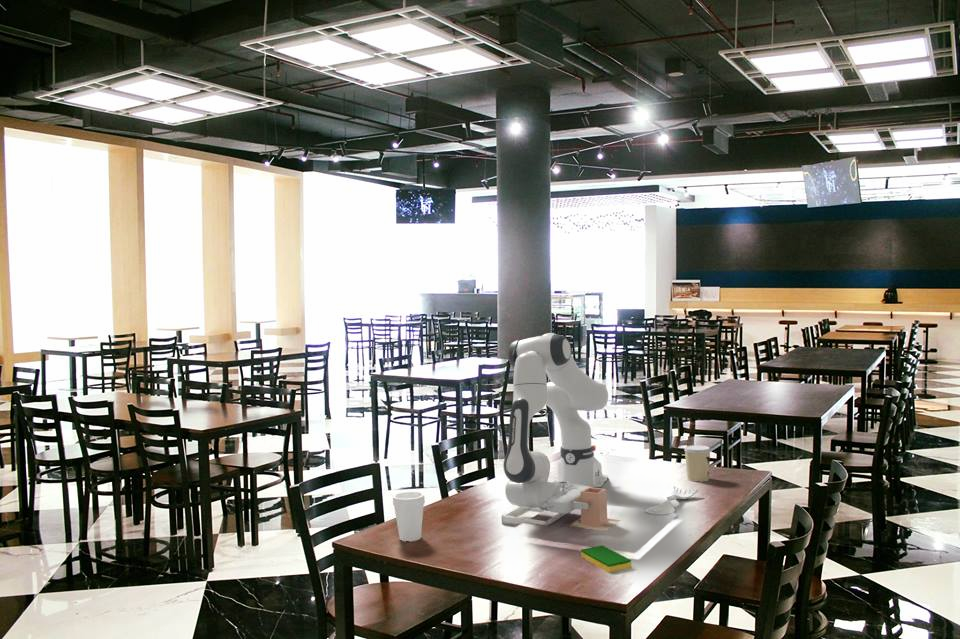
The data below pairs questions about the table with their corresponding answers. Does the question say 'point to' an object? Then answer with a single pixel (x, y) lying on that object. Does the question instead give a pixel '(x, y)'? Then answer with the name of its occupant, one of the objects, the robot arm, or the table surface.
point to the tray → (526, 516)
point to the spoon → (667, 505)
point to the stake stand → (603, 528)
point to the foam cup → (409, 514)
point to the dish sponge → (606, 558)
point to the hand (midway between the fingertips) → (594, 501)
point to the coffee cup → (697, 462)
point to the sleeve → (594, 507)
